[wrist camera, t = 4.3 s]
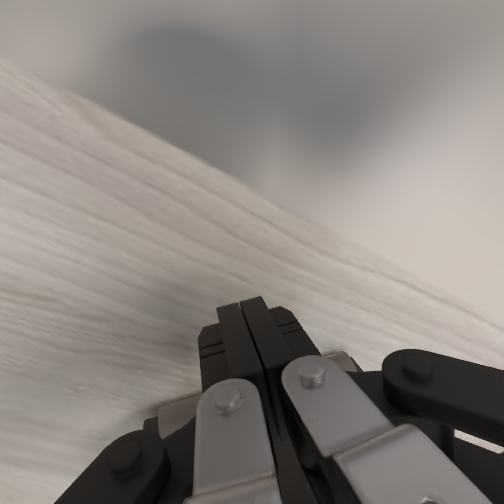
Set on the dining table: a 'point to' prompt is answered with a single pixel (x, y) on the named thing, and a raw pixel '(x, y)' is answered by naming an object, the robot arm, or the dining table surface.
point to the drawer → (289, 474)
